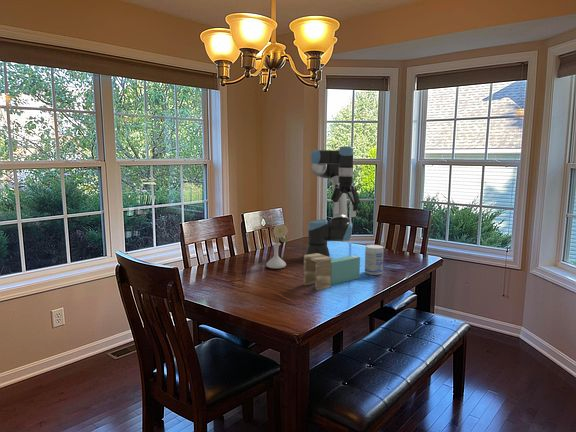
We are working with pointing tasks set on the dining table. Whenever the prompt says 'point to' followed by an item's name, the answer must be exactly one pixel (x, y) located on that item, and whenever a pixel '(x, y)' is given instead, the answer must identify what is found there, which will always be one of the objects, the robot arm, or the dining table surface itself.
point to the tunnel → (317, 270)
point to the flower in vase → (276, 260)
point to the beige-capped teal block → (345, 269)
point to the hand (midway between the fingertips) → (344, 215)
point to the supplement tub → (374, 259)
